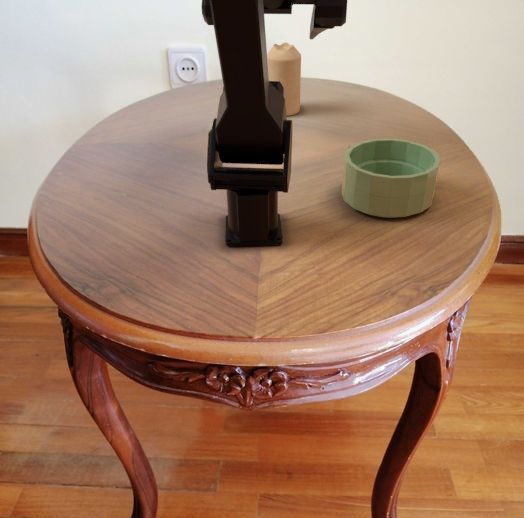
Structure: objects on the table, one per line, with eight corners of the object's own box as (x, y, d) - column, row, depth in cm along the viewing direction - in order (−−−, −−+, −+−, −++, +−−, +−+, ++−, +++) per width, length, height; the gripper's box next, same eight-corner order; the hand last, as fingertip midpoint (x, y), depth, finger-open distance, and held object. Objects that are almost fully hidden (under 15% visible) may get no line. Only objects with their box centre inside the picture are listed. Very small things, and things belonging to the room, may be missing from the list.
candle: (262, 114, 97) (261, 48, 91) (272, 103, 101) (271, 39, 94) (295, 117, 96) (296, 51, 89) (303, 106, 100) (305, 41, 93)
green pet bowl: (442, 219, 71) (451, 175, 67) (348, 222, 71) (352, 179, 67) (420, 177, 79) (426, 137, 75) (336, 180, 79) (339, 139, 75)
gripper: (354, -109, 69) (348, -19, 85) (197, -107, 71) (219, -19, 86) (348, -17, 69) (343, 57, 84) (190, -17, 70) (213, 55, 86)
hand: (279, 35), depth 85 cm, fingers open, 9 cm apart
